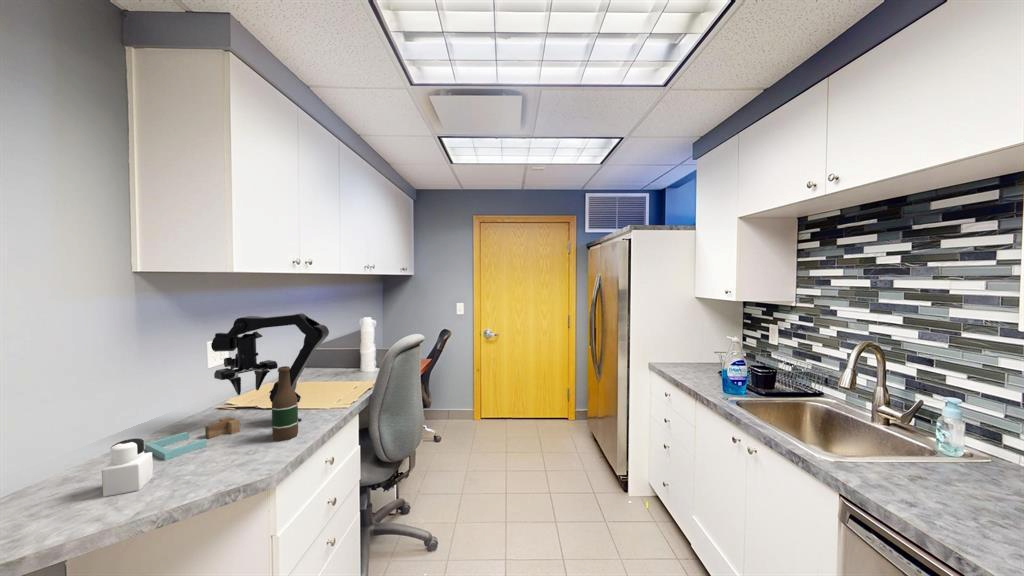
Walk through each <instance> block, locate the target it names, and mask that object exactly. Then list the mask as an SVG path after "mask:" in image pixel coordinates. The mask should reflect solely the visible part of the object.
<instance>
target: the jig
mask: <svg viewBox="0 0 1024 576" xmlns="http://www.w3.org/2000/svg"><path fill="white" fill-rule="evenodd" d="M189 436H190V435H189V432H188V431H184V432H181V433H178V434H173V435H172V436H167V437H165V438H161V439H157V440H155V441H150V442H147V443H144V451H146V452H147V453H149V452H152V455H154V456H155V457H157V458H160V459H161V460H163V461H169V460H171V459H173V458H175V457H178V456H179V457H180V456H182V455H185V454H187V453H191V452H193V451H195V450H199V449H202V448H205V447H207V446H208V443H207V442H208V441H207V438H203V439H200V440H197V441H193V442H190V443H188V444H185V445H182V446H179V447H176V448H172V449H167V448H164V447H166V446H169V445H171V444H172V445H173V444H175V443H178V442H181V441H185V440H188V439H189V438H190V437H189Z"/></svg>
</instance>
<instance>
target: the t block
mask: <svg viewBox="0 0 1024 576" xmlns="http://www.w3.org/2000/svg"><path fill="white" fill-rule="evenodd" d="M240 426H241V423H240V420H239V419H236V418H233V417H231V416H225V417H222V418H220V419H219V421H217V422H214V423H211V424H208V425H205V426H204V430H205V431H204V432H205V439H208V440H211V439H213V438H216V437H219V436H222V435H225V434H230V435H234V434H237V433H240V432H241V427H240Z"/></svg>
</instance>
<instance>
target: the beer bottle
mask: <svg viewBox="0 0 1024 576" xmlns="http://www.w3.org/2000/svg"><path fill="white" fill-rule="evenodd" d="M290 368H291V367H290V366H287V365H285V366H278V368H277V373H278V378H277V379H278V380H277V381H278V391H277V393H276V395H275V396H274V399H273V401H272V402H271V424H272V425H271V426H272V427H271V429H272V431H271V432H272V440H273V441H276V442H283V441H285V442H286V441H290V440H293V439H295V438H297V437H298V433H299V422H298V418H299V411H298V410H299V409H298V407H299V406H298V404H299V402H297V396H296V394H295V392H296V391H295V392H294V391H293V390H292V388H291V383H290V373H289V370H290Z"/></svg>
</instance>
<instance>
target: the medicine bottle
mask: <svg viewBox="0 0 1024 576" xmlns="http://www.w3.org/2000/svg"><path fill="white" fill-rule="evenodd" d="M109 448H110V463H108V464H107V465H106V466H104V468H102V469H101V478H102V479H101V480H102V481H101V482H102V483H101V485H102V496H103V498H104V497H111V496H117V495H121V494H123V495H124V494H128V493H133V492H139V491H140V490H141V489H143V487H145V486H146V485H147V483H149V481H150V480H152V478H154V466H153V461H154V460H153V454H152V452H145V442H144V439H142V438H129V439H124V440H121V441H118V442H116V443H115V444H113V445H112V446H111V447H109Z"/></svg>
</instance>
